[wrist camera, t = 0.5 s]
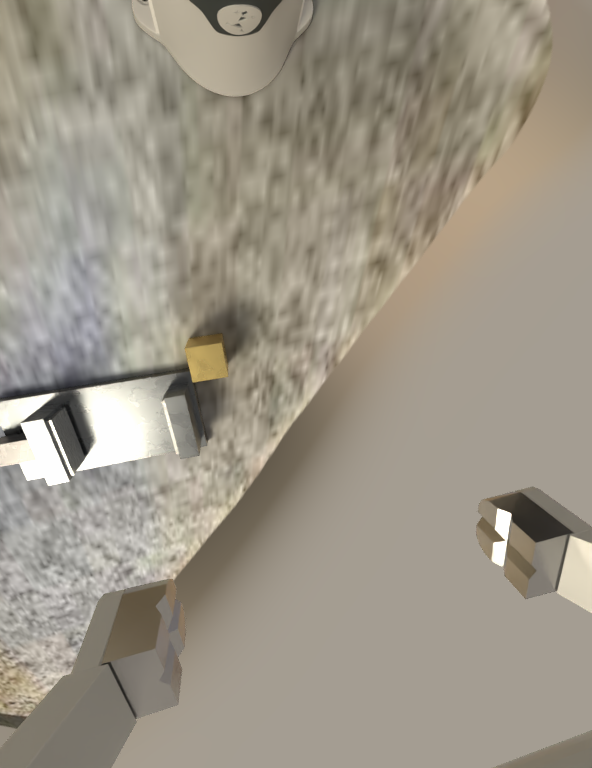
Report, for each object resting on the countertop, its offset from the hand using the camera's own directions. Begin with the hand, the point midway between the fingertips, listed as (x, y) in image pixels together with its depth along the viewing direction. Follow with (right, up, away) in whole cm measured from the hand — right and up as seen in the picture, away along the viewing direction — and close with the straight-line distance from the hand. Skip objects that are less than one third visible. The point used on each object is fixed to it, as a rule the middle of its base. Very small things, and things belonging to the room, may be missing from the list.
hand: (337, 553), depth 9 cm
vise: (-28, -1, +40) cm, 49 cm away
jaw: (-36, -3, +37) cm, 52 cm away
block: (-13, +9, +39) cm, 43 cm away
